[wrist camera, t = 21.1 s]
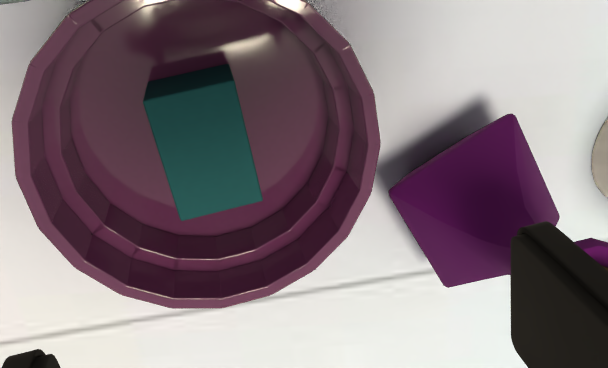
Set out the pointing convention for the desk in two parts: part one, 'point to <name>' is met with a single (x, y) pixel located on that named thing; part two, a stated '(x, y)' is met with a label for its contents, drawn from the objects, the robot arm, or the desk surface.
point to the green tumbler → (11, 1)
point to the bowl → (147, 163)
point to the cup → (601, 160)
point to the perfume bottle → (478, 204)
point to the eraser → (202, 141)
